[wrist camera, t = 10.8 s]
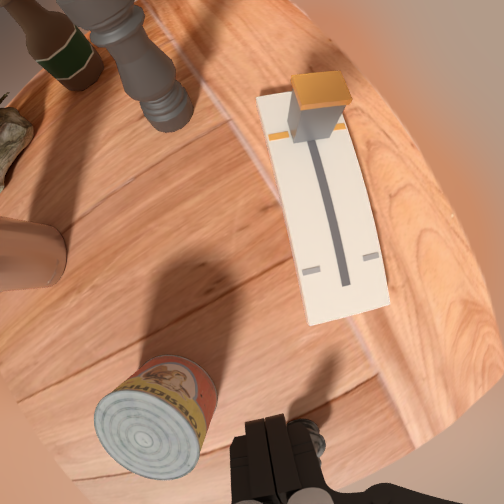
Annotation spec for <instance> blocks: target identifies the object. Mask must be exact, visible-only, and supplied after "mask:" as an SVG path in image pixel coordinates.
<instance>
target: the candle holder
mask: <svg viewBox="0 0 504 504" xmlns="http://www.w3.org/2000/svg"><path fill="white" fill-rule="evenodd" d="M134 1H135V0H56V3H57V4H58V5H59V6H60V8H61V9H62V10H63V11H64V13H65V14H66V15H67V16H68V18H69V19H70V20H71V21H72V23H73V24H74V25H76V26H78V27H81V28H83V29H84V30H90V31H91V33H90V39H91V42H92V43H93V44H95V45H96V46H97V47H104V48H106V49H107V50H108V52H109V53H110V54H111V56H112V57H113V58H114V60H115V61H116V64H117V68H118V71H119V74H120V77H121V80H122V84H123V87H124V90H125V92H126V93H127V94H128V95H129V96H130V97H131V98H132V99H134V100H138V101H140V105H141V108H142V110H143V113H144V116H145V117H146V118H147V120H148V121H149V122H150V123H151V125H152V126H153V127H154V128H156V129H157V130H158V131H161V132H165V133H167V132H175V131H177V130H179V129H181V128H183V127H184V126H185V125H186V124H187V123H188V122H189V121H190V119H191V117H192V115H193V105H192V103H191V100H190V98H189V96H188V94H187V92H186V89H185V88H184V87H183V86H182V85H181V83H179V82H178V81H177V80H175V77H176V69H175V66H174V64H173V62H172V60H171V59H170V58H169V57H168V56H167V55H166V54H165V53H164V52H163V51H162V50H161V49H159V48H158V47H157V46H156V45H155V44H154V43H153V42H152V41H151V40H150V39H149V38H148V36H147V34H146V32H145V30H144V28H143V26H142V25H143V22H144V19H145V14H144V12H143V9H142V8H141V7H139V6H137V5H134Z"/></svg>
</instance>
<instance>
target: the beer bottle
mask: <svg viewBox="0 0 504 504" xmlns="http://www.w3.org/2000/svg"><path fill="white" fill-rule="evenodd" d="M0 7H4V8H5V9H6V10H7V11H8V12H9V13H10V15H11V16H12V17H13V18H14V19H15V20H16V22H17V23H18V24H19V25H20V26H21V28H22V29H23V31H24V33H25V34H26V46H27V49H28V51H29V54H30V55H31V56H32V57H33V59H34V60H35V61H36V62H38V63H39V64H40V65H41V66H42V67H43V68H44V69H45V70H47V71H48V72H49V73H50V74H51V75H52V76H53V77H54V78H56V79H57V80H58V81H59V82H60V83H61V84H62V85H63V86H65V87H66V88H67V89H69V90H71V91H83V90H85V89H86V88H88V87H89V86H90V85H92V84H93V83H95V82H96V81H97V80H98V78H99V76H100V74H101V72H102V70H103V69H104V65H103V62H102V60H101V57H100V56H99V54H98V53H97V51H96V50H95V49H94V47H93V46H92V45H91V44H90V42H89V41H88V40H87V39H86V37H85V36H84V35H83V34H82V32H81V31H80V30H79V29H78V27H77V26H76V25H74V24H73V23H72V21H71V20H70V19H69V18H68V16H67V15H65V14H63V13H60V12H54V11H48V10H46V9H45V8H43V7H42V6H41V5H40V4H39V3H37V2H36V1H35V0H0Z"/></svg>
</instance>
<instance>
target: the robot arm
mask: <svg viewBox="0 0 504 504" xmlns="http://www.w3.org/2000/svg"><path fill="white" fill-rule="evenodd" d="M65 264H66V247H65V243H64V240H63V238H62V235H61V234H60V233H59V231H58V230H57V229H56V228H54V227H52V226H50V225H44V224H39V223H34V222H29V221H23V220H18V219H13V218H7V217H2V216H0V292H4V291H14V290H25V289H35V288H45V287H50V286H53V285H54V284H56V283H57V282H58V281H59V279H60V278H61V276H62V274H63V272H64V269H65ZM245 432H246V435H243V436H238V437H234V440H233V442H232V444H231V446H230V468H231V470H230V471H231V494H232V503H231V504H462V503H457V502H453V501H448V500H444V499H440V498H436V497H433V496H429V495H425V494H422V493H419V492H416V491H412V490H409V489H406V488H403V487H400V486H397V485H394V484H391V483H380V484H376V485H373V486H371V487H370V488H368V489H367V490H366V491H364V492H358V493H340V492H336V491H334V490H332V489H331V488H329V487H328V486H327V484H326V482H325V480H324V477H323V474H322V471H321V468H320V464H319V461H318V458H317V455H316V452H315V449H314V446H313V443H312V439H311V436H310V433H309V430H308V429H307V428H306V427H305V426H304V425H303V424H302V423H300V422H299V423H295V424H292V425H288V426H287V424H286V420H285V417H284V414H283V413H282V414H279V415H274V416H270V417H266V418H265V420H264V418H262V419H258V420H253V421H248V422H245Z"/></svg>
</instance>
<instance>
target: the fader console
mask: <svg viewBox="0 0 504 504" xmlns="http://www.w3.org/2000/svg"><path fill="white" fill-rule="evenodd" d="M291 94H292V91H291V92H284V93H277V94H271V95H265V96H260V97H256V107H257V111H258V114H259V118H260V122H261V126H262V129H263V133H264V137H265V141H266V145H267V149H268V153H269V157H270V161H271V165H272V169H273V173H274V177H275V181H276V185H277V189H278V193H279V198H280V202H281V206H282V210H283V215H284V219H285V223H286V228H287V232H288V237H289V241H290V246H291V250H292V255H293V259H294V264H295V269H296V273H297V278H298V283H299V288H300V293H301V298H302V302H303V307H304V312H305V318H306V322H307V323H308V325H309V326H312V325H316V324H321V323H325V322H329V321H332V320H336V319H340V318H344V317H348V316H352V315H355V314H359V313H362V312H366V311H370V310H373V309H377V308H380V307H383V306H387V305H390V299H389V293H388V287H387V281H386V275H385V270H384V265H383V260H382V255H381V250H380V245H379V240H378V236H377V231H376V227H375V223H374V218H373V214H372V210H371V206H370V202H369V198H368V195H367V191H366V187H365V184H364V180H363V177H362V173H361V170H360V166H359V163H358V160H357V156H356V153H355V150H354V147H353V144H352V141H351V138H350V135H349V132H348V129H347V126H346V123H345V120H344V117H343V115H342V114H341V116H340V118H339V120H338V122H337V124H336V126H335V128H334V130H333V132H332V134H331V136H330V138H325V139H318V140H312V141H306V142H300V143H293V140H292V136H291V133H290V129H289V126H288V123H287V119H288V113H289V106H290V100H291Z"/></svg>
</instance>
